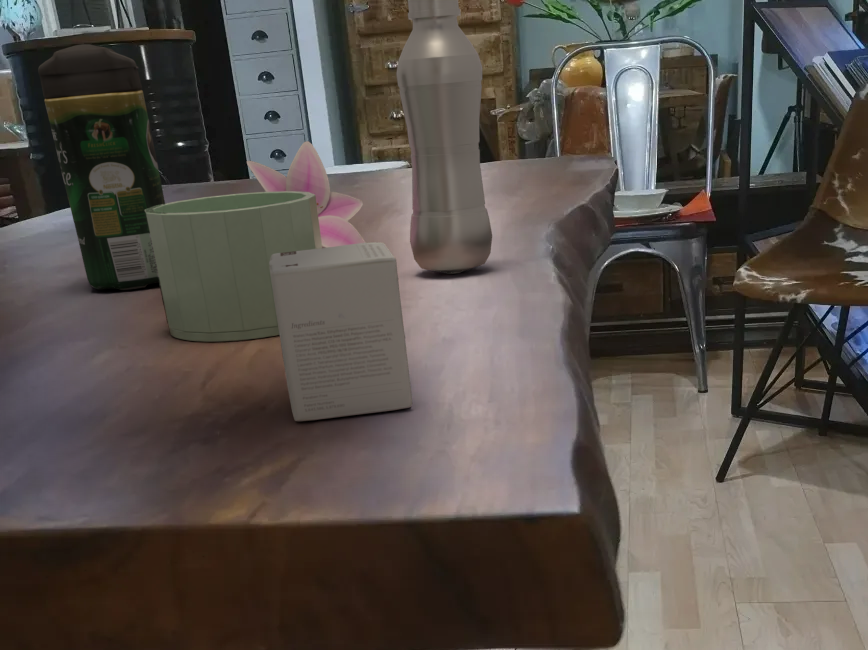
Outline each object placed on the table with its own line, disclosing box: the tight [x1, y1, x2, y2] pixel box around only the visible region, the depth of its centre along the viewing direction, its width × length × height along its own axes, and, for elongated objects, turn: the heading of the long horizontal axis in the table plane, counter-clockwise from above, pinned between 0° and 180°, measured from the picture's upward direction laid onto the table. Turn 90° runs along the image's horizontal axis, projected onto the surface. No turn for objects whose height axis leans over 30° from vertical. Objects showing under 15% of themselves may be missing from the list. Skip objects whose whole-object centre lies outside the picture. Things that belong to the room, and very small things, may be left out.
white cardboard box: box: [269, 241, 413, 422], centre depth 56 cm, size 6×6×7 cm
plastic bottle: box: [396, 0, 493, 275], centre depth 86 cm, size 6×7×20 cm
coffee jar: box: [37, 43, 166, 291], centre depth 93 cm, size 10×8×19 cm
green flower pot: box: [144, 191, 322, 343], centre depth 76 cm, size 11×11×8 cm
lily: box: [246, 140, 367, 248], centre depth 96 cm, size 12×12×10 cm
